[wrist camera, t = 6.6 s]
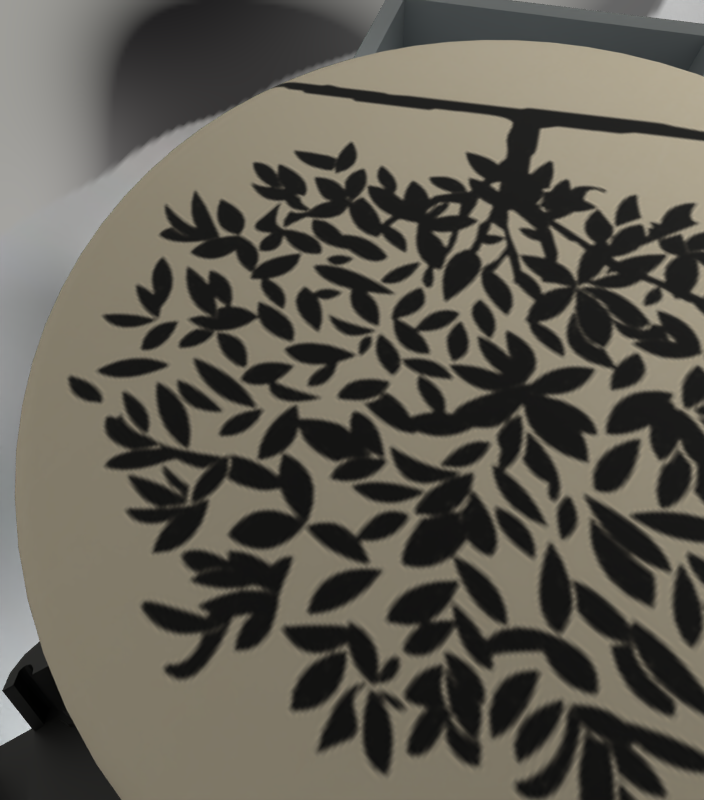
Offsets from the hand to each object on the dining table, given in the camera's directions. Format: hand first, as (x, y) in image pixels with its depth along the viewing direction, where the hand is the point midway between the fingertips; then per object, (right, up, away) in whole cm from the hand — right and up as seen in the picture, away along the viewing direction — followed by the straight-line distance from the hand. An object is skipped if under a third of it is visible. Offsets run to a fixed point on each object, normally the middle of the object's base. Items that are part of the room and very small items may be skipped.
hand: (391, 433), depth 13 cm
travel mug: (+1, -6, +7) cm, 9 cm away
